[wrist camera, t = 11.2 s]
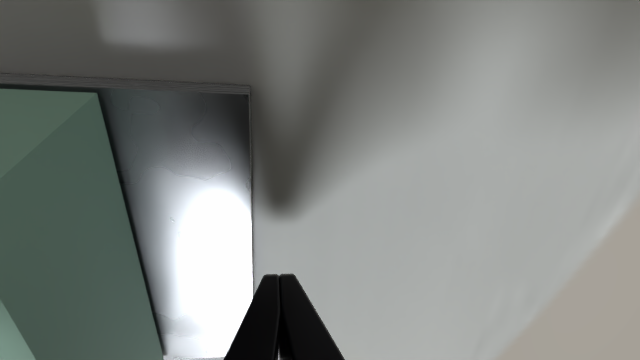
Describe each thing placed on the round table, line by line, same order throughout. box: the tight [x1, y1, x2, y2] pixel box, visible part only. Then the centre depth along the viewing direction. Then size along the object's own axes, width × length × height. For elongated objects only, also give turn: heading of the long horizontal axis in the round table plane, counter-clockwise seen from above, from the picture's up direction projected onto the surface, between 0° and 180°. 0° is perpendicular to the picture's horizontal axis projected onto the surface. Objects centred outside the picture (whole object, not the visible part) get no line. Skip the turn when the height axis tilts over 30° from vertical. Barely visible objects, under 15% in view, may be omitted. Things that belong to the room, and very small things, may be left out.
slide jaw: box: [0, 89, 164, 360], centre depth 8 cm, size 3×10×4 cm, turn 175°
